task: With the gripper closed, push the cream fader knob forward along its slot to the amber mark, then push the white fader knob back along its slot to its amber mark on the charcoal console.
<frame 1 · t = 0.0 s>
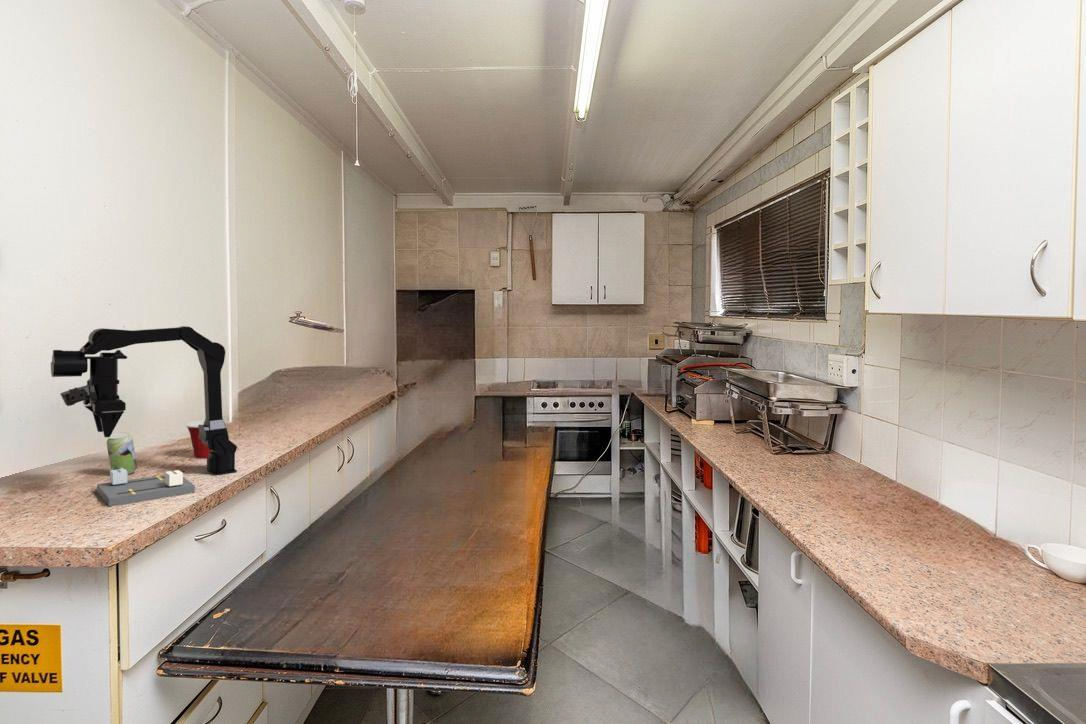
hand: (103, 434, 143), 15 cm above the table, tool pointing down, fingers open, 9 cm apart
beverage can: (122, 474, 158), on the table
white fader: (118, 476, 142), point 4 cm above the table, slide at 11.0 cm
plastic cup: (204, 457, 182), on the table
cream fader: (174, 477, 142), point 4 cm above the table, slide at 1.0 cm
console: (146, 492, 142), on the table
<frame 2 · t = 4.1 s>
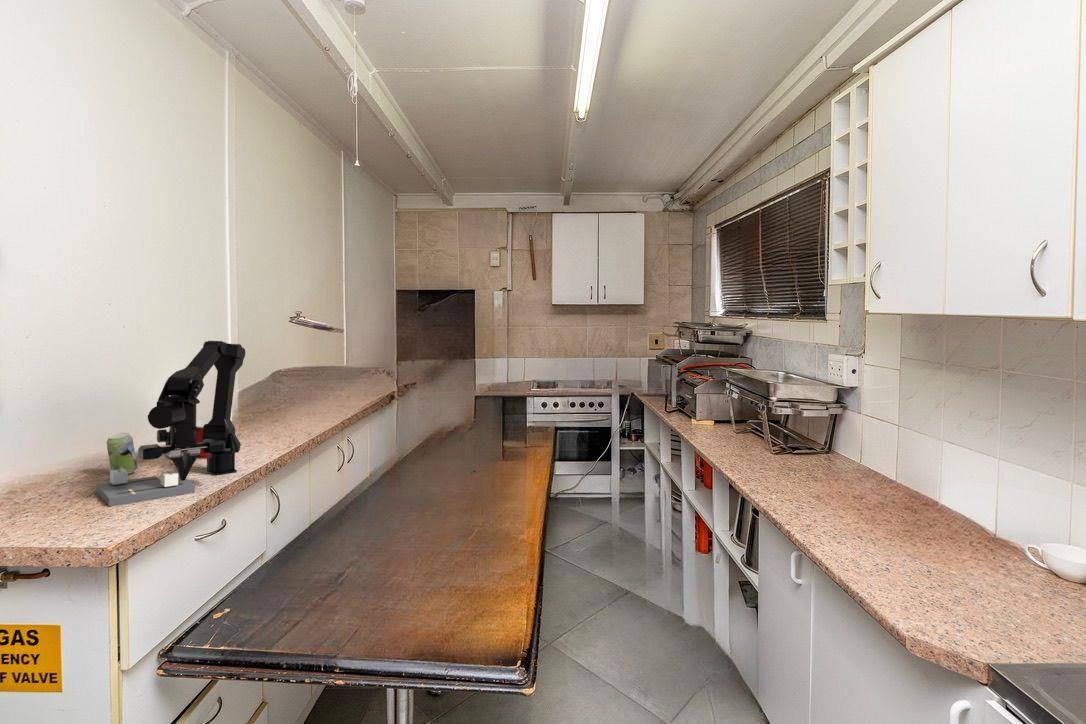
hand: (182, 480, 144), 3 cm above the table, tool pointing down, fingers closed
cream fader: (169, 478, 142), point 4 cm above the table, slide at 2.0 cm, touching gripper
everything else where it was.
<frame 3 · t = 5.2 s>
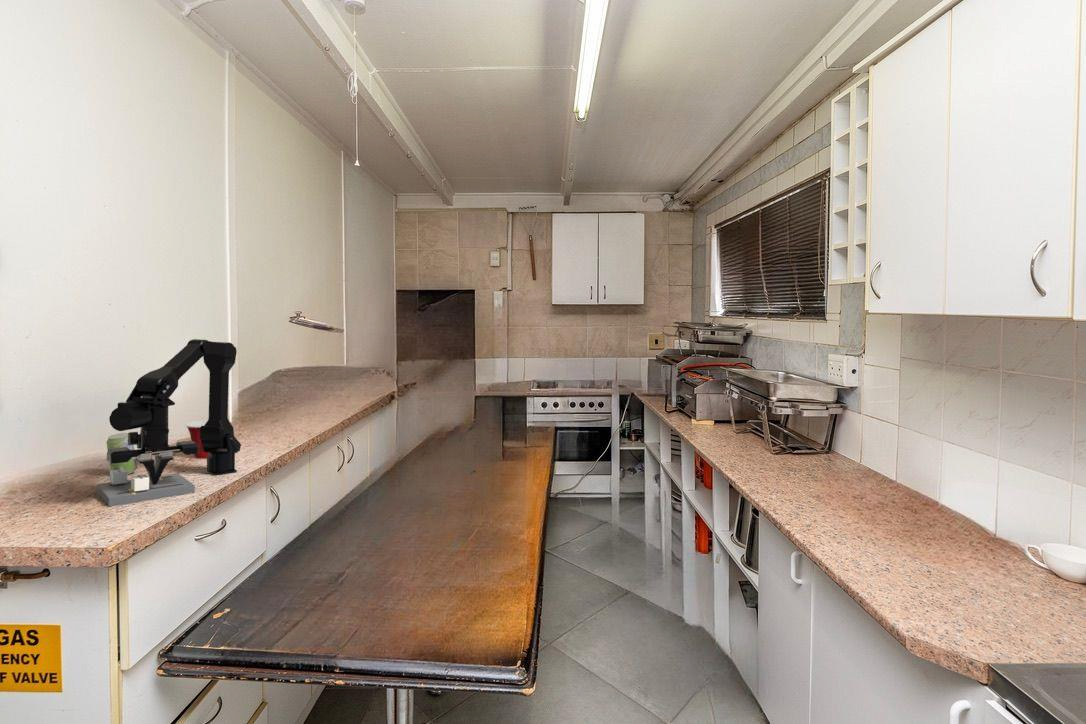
hand: (154, 484, 139), 3 cm above the table, tool pointing down, fingers closed
cream fader: (140, 482, 137), point 4 cm above the table, slide at 8.4 cm, touching gripper
everything else where it was.
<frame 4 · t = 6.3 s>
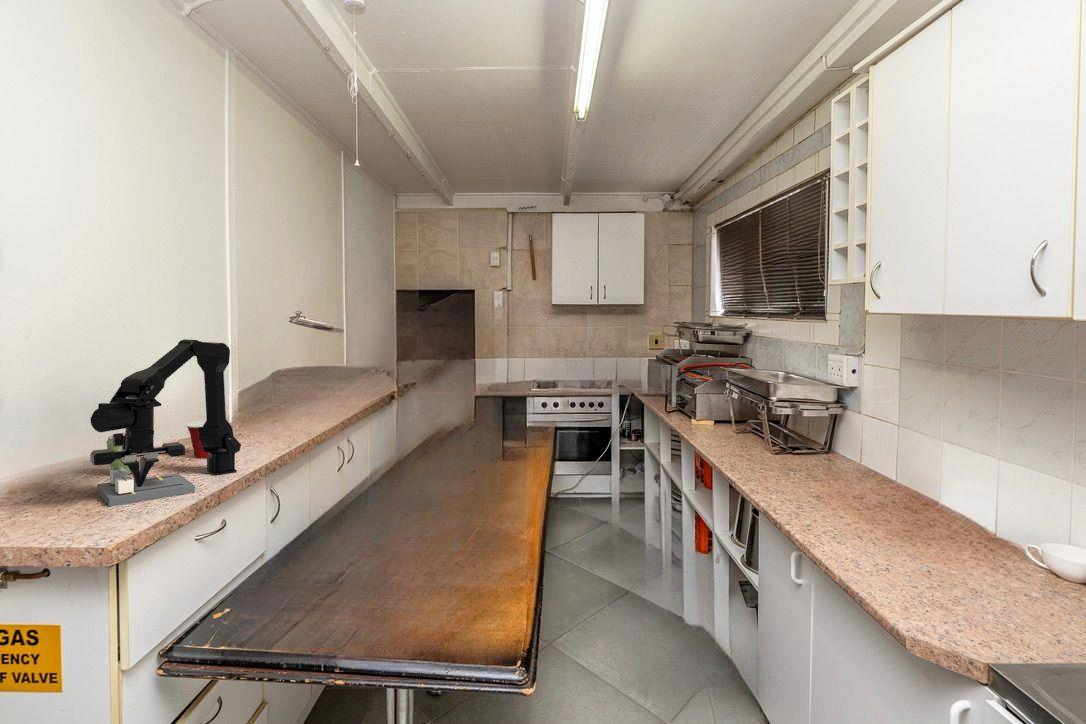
hand: (139, 486, 137), 3 cm above the table, tool pointing down, fingers closed
cream fader: (124, 484, 135), point 4 cm above the table, slide at 11.5 cm, touching gripper
everything else where it was.
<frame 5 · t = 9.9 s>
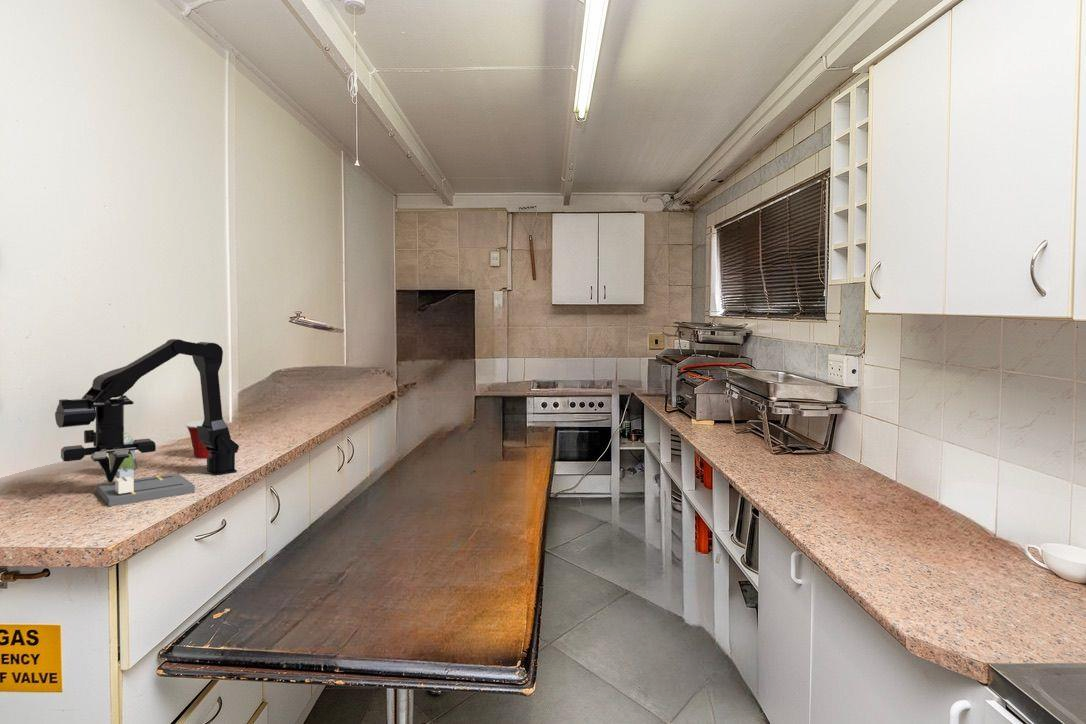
hand: (110, 481, 141), 3 cm above the table, tool pointing down, fingers closed
white fader: (125, 475, 143), point 4 cm above the table, slide at 9.6 cm, touching gripper
cream fader: (124, 484, 135), point 4 cm above the table, slide at 11.5 cm
everything else where it was.
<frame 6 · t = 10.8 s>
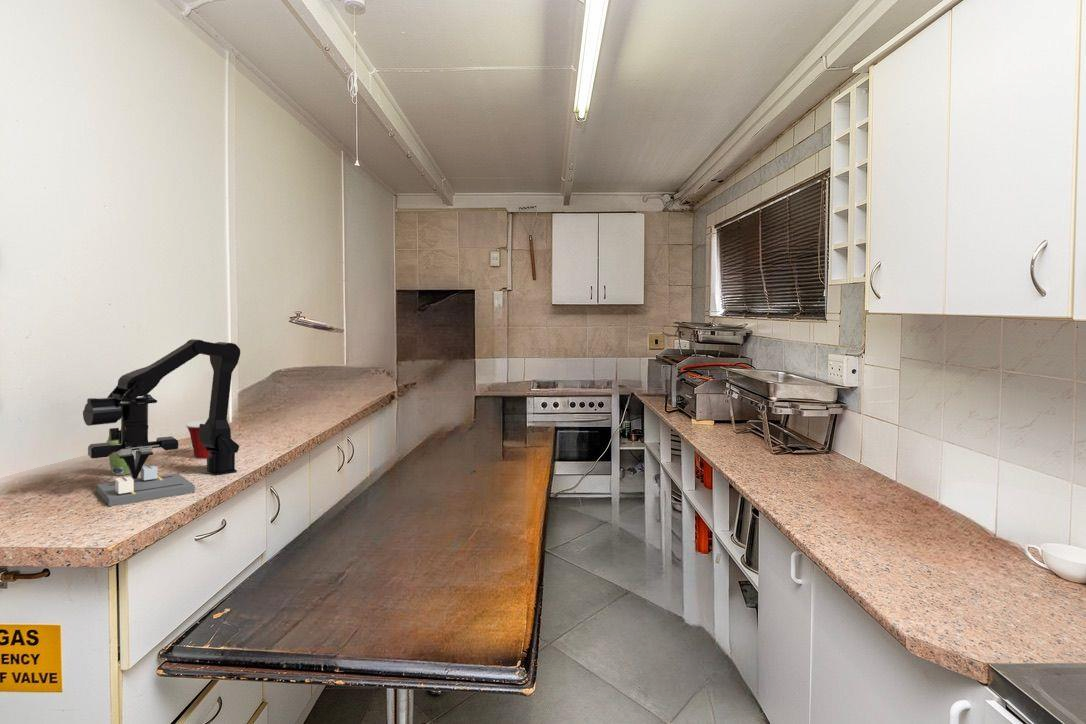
hand: (134, 478, 144), 3 cm above the table, tool pointing down, fingers closed
white fader: (148, 472, 147), point 4 cm above the table, slide at 4.4 cm, touching gripper
everything else where it was.
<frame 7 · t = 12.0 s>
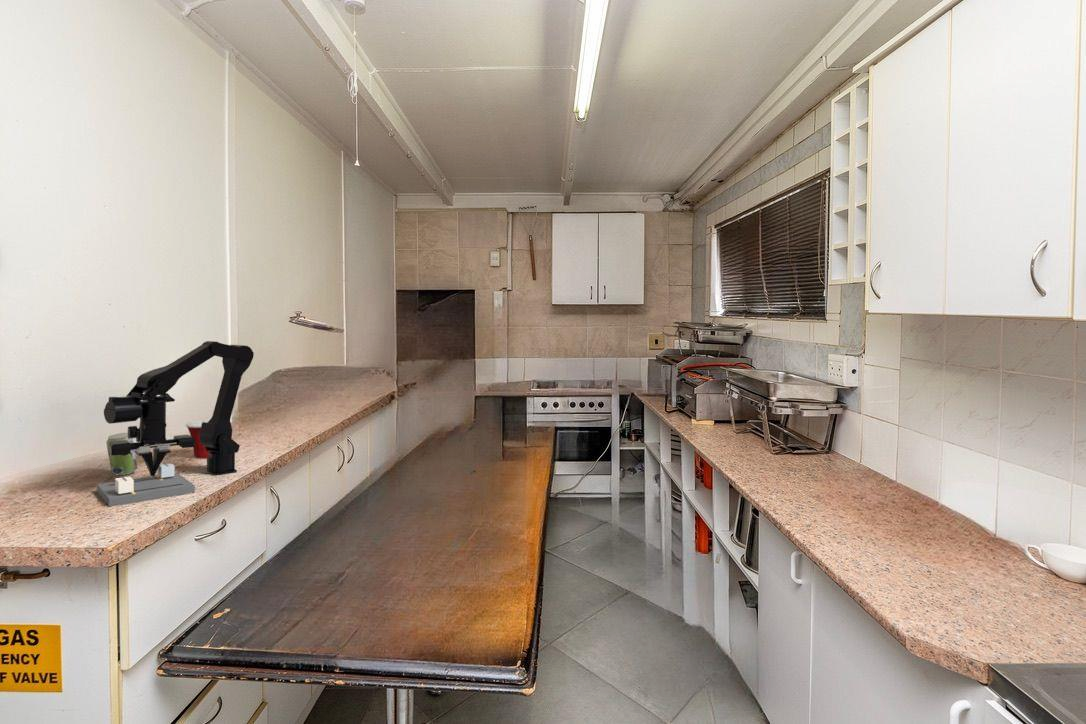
hand: (152, 475, 147), 3 cm above the table, tool pointing down, fingers closed
white fader: (166, 470, 150), point 4 cm above the table, slide at 0.5 cm, touching gripper
everything else where it was.
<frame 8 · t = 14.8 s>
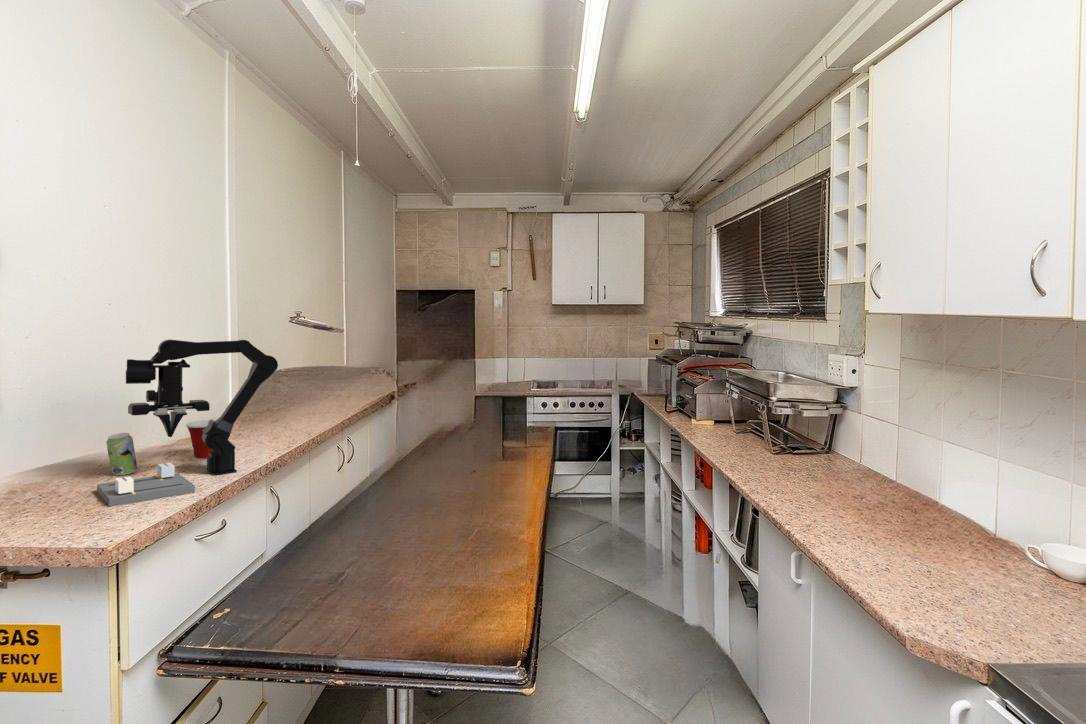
hand: (169, 436, 156), 12 cm above the table, tool pointing down, fingers closed
white fader: (166, 470, 150), point 4 cm above the table, slide at 0.5 cm
everything else where it was.
at the end: cream fader slide at 11.5 cm; white fader slide at 0.5 cm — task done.
